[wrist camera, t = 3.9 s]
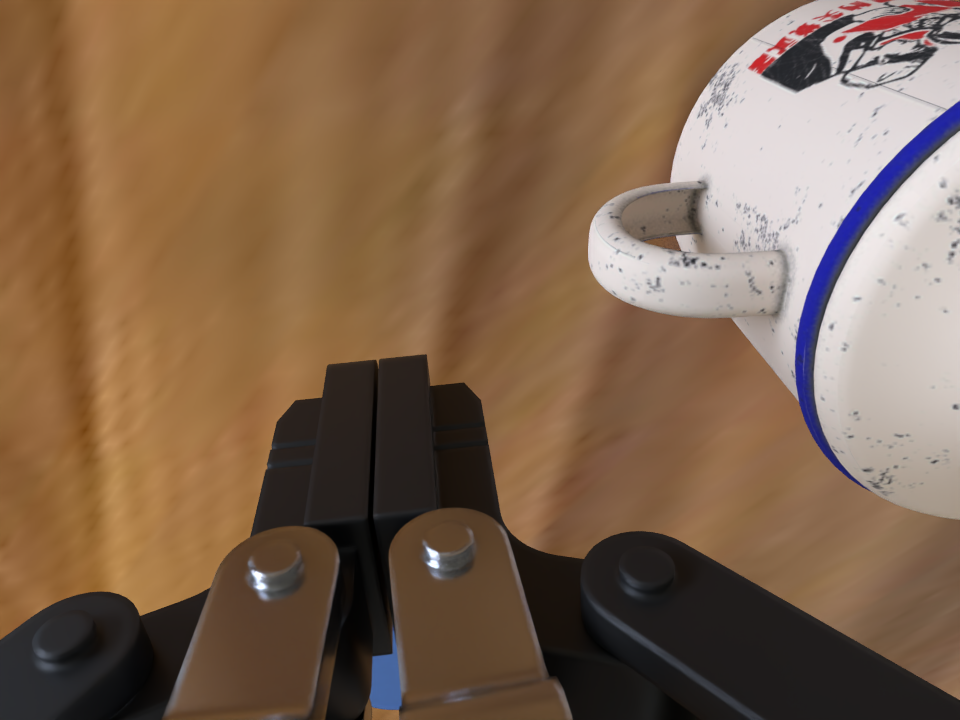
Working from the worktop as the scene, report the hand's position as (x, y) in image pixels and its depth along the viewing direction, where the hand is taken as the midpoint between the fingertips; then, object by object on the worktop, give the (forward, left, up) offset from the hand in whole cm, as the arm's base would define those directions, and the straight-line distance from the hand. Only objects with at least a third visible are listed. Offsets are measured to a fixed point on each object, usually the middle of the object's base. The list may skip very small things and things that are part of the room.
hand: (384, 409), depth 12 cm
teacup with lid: (0, +10, -10) cm, 14 cm away
